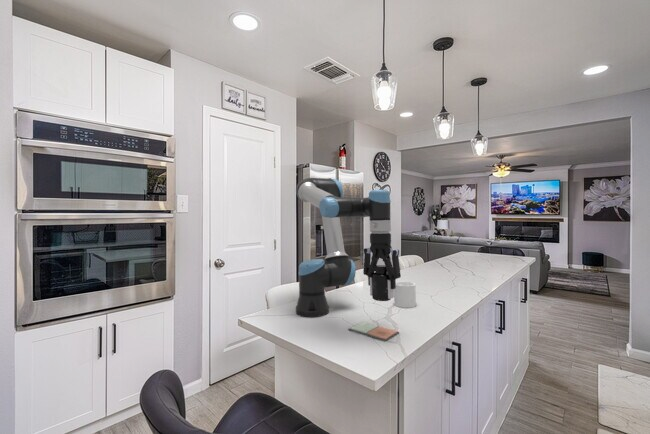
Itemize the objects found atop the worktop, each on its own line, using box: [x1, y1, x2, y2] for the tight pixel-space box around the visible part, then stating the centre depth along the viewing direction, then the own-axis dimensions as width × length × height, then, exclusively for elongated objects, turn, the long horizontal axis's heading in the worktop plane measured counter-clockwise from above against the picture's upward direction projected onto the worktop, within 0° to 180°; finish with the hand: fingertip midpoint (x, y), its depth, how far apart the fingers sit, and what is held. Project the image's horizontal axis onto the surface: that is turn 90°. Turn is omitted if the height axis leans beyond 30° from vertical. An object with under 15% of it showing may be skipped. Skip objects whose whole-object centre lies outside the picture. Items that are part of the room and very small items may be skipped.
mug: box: [393, 281, 417, 309], centre depth 142 cm, size 13×10×10 cm
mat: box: [347, 321, 400, 342], centre depth 108 cm, size 16×10×1 cm, turn 47°
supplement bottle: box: [371, 264, 392, 302], centre depth 106 cm, size 7×7×12 cm
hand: (381, 296), depth 106 cm, fingers closed on supplement bottle, 7 cm apart
